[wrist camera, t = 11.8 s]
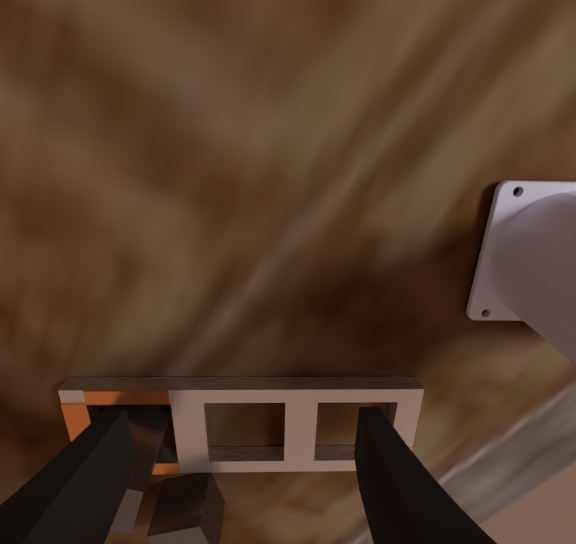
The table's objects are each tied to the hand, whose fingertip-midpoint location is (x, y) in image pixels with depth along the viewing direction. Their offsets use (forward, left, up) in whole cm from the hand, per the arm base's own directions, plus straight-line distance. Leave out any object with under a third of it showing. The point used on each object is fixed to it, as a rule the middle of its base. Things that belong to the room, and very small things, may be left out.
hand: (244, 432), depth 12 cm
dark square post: (+8, +10, -10) cm, 16 cm away
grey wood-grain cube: (+5, +17, -10) cm, 20 cm away
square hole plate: (+1, +10, -10) cm, 14 cm away
